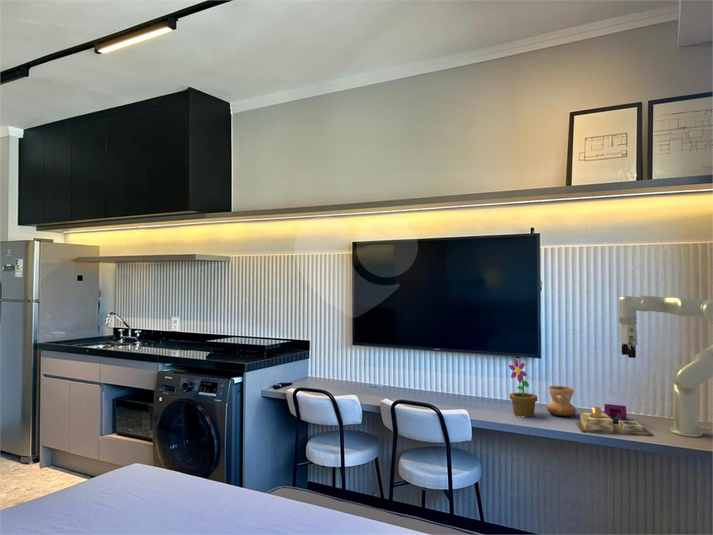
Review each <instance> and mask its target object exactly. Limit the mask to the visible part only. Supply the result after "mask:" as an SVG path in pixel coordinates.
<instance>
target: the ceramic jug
mask: <svg viewBox="0 0 713 535" xmlns="http://www.w3.org/2000/svg"><path fill="white" fill-rule="evenodd" d="M548 390H549V394H550V397H551V399H552V401H551V402H549V403H548V404H547V405H546V410H547V411H548V412H549V413H550V414H552V415H555V416H558V417H570V416H573V415H575V414H576V413H577V408H576V407H575V406H574V405H573V404H572V403H571V400H572V398H573V394H574V388H572V387H568V386H564V385H550V386H549V387H548Z"/></svg>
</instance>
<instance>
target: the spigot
mask: <svg viewBox="0 0 713 535" xmlns="http://www.w3.org/2000/svg"><path fill="white" fill-rule="evenodd" d="M591 413H592V418H601V414H602V407H599V406H591Z"/></svg>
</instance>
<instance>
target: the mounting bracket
mask: <svg viewBox="0 0 713 535" xmlns="http://www.w3.org/2000/svg"><path fill="white" fill-rule="evenodd" d="M604 414H606V415H608V416H609V417H610V418H611V417H613V416H616V417H615V418H620V421H627V416H628V415H627V406H626V405H619V404H612V403H604ZM611 419H612V418H611Z"/></svg>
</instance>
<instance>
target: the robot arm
mask: <svg viewBox="0 0 713 535" xmlns="http://www.w3.org/2000/svg"><path fill="white" fill-rule="evenodd" d="M637 311H639V312H655V313H657V312H658V313H664V314H665V313H666V314H670V315H674V316H679V317H691V318H700V319H708V320H709V321H710V323H712V324H713V300H712V299H700V298H699V299H698V298H689V297H688V298H687V297H668V296H666V297H664V296H656V295H655V296H653V295H639V296H631V295H622V296H619V297H618V323H619V325H620V342H621V345H620V346H621V355H622V356H627V357H628V358H630V359H631V358H633V359H636V358H637V355H636V353H637V352H636V350H637V348H636V346H637V345H638V331H637V322H638V321H637V320H638V319H637ZM711 378H713V343H712V344H711V345H709V346H707V347H705V348H704V349H703V350H702V351H699V352H698V353H696V354H695V355H694V356H693V361H691V362H689V363H688V364H678V365H676V366H674V368H673V369H672V372H671V381H672V382H671V383H672V406H673V408H672V409H673V426H671V427H669V431H670V432H671V433H672V434H675V435H679V436H683V437H690V438H693V437H694V438H698V437H702V436H703V431H706V432H710V431H711V427H710V426H705V425H703V424H702V425H701V424H699V411H698V410H699V408H698V406H699V404H698V403H699V402H698V398H699V397H698V387H699V386H701V385H702V384H704V383H705V382H707V381H708V380H710V379H711Z"/></svg>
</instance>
